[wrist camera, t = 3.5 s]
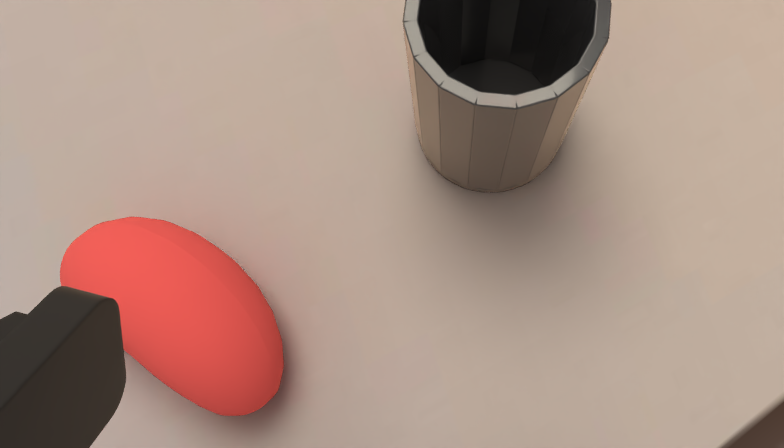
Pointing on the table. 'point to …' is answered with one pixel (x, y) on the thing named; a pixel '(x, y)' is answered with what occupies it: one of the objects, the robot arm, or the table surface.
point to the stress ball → (183, 311)
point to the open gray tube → (499, 82)
